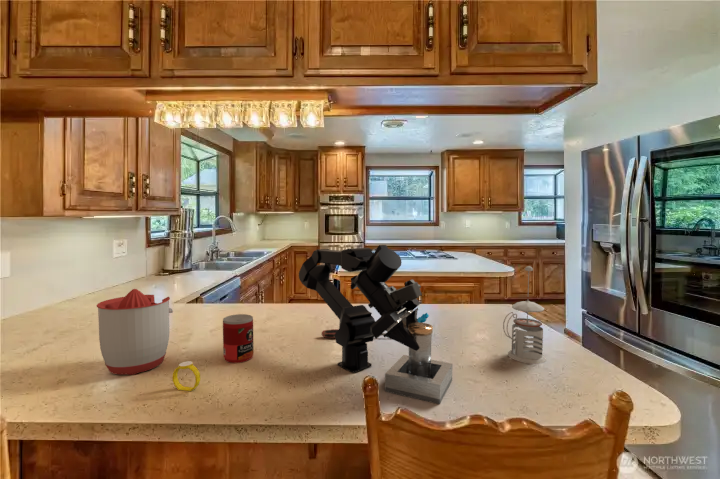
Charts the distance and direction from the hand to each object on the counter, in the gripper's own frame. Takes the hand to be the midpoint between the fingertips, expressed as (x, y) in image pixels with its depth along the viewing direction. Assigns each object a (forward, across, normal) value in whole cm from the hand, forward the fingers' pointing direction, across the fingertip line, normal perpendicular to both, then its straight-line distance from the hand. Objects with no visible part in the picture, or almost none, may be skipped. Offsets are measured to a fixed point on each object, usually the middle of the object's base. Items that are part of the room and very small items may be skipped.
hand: (421, 345), depth 79 cm
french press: (+21, +29, -8) cm, 37 cm away
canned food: (-28, -6, +42) cm, 50 cm away
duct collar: (+6, 0, +7) cm, 9 cm away
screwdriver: (-12, +23, +26) cm, 37 cm away
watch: (-25, -25, +39) cm, 53 cm away
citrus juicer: (-41, -21, +55) cm, 72 cm away
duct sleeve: (+4, 0, +5) cm, 7 cm away
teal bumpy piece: (-1, +33, +15) cm, 36 cm away
